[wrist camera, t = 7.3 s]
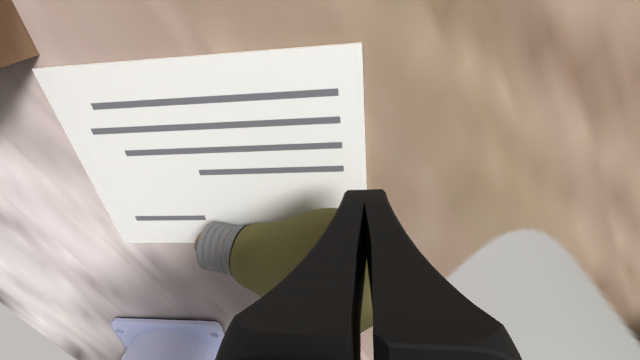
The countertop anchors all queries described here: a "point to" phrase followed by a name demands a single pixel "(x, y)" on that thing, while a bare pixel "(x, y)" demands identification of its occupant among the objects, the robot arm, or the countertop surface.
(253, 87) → the letter
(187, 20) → the countertop surface
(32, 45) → the walnut block
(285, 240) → the light bulb
